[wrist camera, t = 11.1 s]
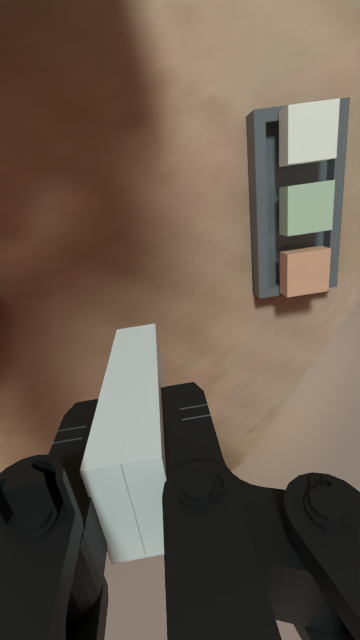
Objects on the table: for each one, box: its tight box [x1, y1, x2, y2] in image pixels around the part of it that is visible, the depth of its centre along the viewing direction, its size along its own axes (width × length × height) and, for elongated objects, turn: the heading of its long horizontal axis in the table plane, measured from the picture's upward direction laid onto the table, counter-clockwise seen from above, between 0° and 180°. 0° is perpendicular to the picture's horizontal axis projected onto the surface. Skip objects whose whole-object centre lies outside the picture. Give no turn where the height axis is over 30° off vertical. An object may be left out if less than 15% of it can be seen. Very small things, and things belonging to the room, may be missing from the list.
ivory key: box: [279, 98, 340, 167], centre depth 31 cm, size 5×5×4 cm
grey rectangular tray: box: [246, 97, 350, 299], centre depth 35 cm, size 20×10×2 cm, turn 7°
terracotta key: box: [280, 246, 331, 297], centre depth 36 cm, size 5×5×4 cm
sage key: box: [279, 180, 335, 236], centre depth 33 cm, size 5×5×4 cm
